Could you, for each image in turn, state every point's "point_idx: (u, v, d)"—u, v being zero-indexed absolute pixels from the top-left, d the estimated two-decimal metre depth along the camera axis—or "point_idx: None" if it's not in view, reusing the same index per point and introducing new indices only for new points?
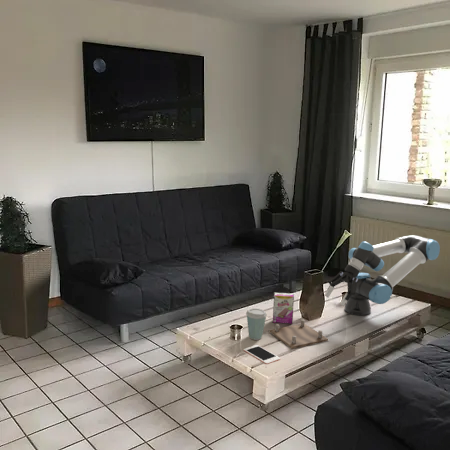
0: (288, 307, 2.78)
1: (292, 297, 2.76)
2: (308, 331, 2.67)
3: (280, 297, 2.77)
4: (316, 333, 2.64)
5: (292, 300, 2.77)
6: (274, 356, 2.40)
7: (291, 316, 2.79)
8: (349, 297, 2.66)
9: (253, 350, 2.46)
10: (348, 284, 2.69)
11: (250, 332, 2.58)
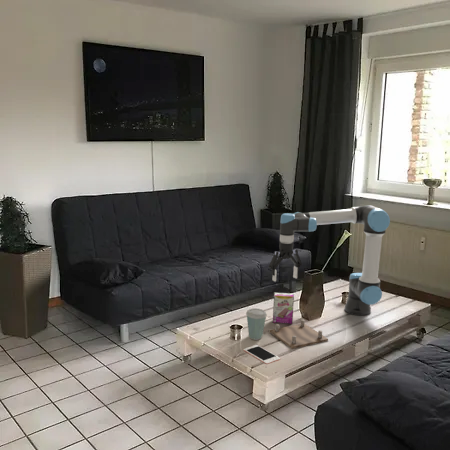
0: (288, 307, 2.78)
1: (292, 297, 2.76)
2: (308, 331, 2.67)
3: (280, 297, 2.77)
4: (316, 333, 2.64)
5: (292, 300, 2.77)
6: (274, 356, 2.40)
7: (291, 316, 2.79)
8: (272, 271, 2.72)
9: (253, 350, 2.46)
10: None
11: (250, 332, 2.58)
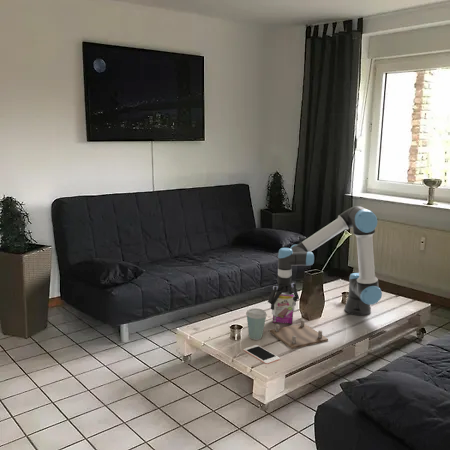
0: (288, 307, 2.78)
1: (292, 297, 2.76)
2: (308, 331, 2.67)
3: (280, 297, 2.77)
4: (316, 333, 2.64)
5: (292, 300, 2.77)
6: (274, 356, 2.40)
7: (291, 316, 2.79)
8: (272, 306, 2.76)
9: (253, 350, 2.46)
10: None
11: (250, 332, 2.58)
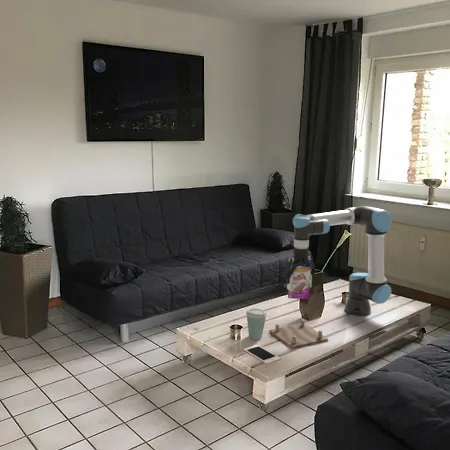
0: (304, 281, 2.55)
1: (309, 270, 2.54)
2: (308, 331, 2.67)
3: (296, 270, 2.55)
4: (316, 333, 2.64)
5: (309, 273, 2.54)
6: (274, 356, 2.40)
7: (308, 291, 2.56)
8: (287, 280, 2.54)
9: (253, 350, 2.46)
10: None
11: (250, 332, 2.58)
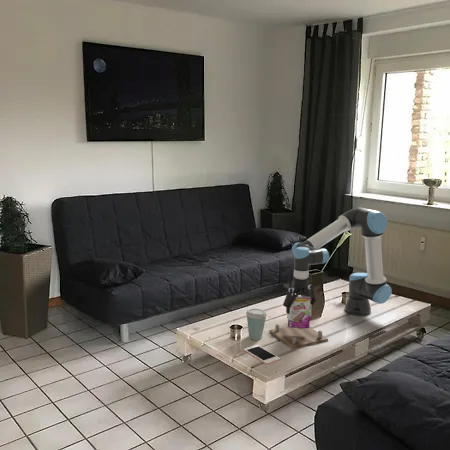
0: (304, 311, 2.58)
1: (309, 300, 2.56)
2: (308, 331, 2.67)
3: (296, 300, 2.57)
4: (316, 333, 2.64)
5: (309, 303, 2.57)
6: (274, 356, 2.40)
7: (308, 320, 2.59)
8: (287, 309, 2.56)
9: (253, 350, 2.46)
10: None
11: (250, 332, 2.58)
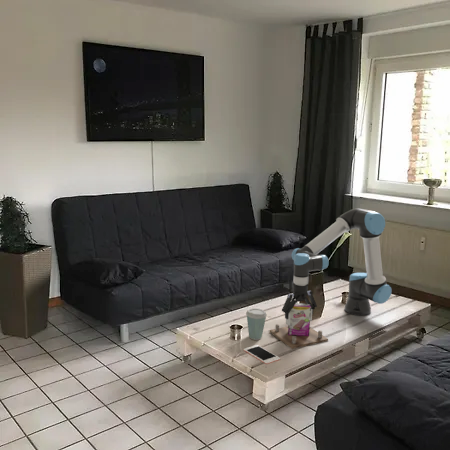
0: (304, 319, 2.59)
1: (309, 308, 2.57)
2: None
3: (296, 308, 2.58)
4: (316, 333, 2.64)
5: (309, 311, 2.58)
6: (274, 356, 2.40)
7: (308, 328, 2.60)
8: (286, 315, 2.57)
9: (253, 350, 2.46)
10: None
11: (250, 332, 2.58)
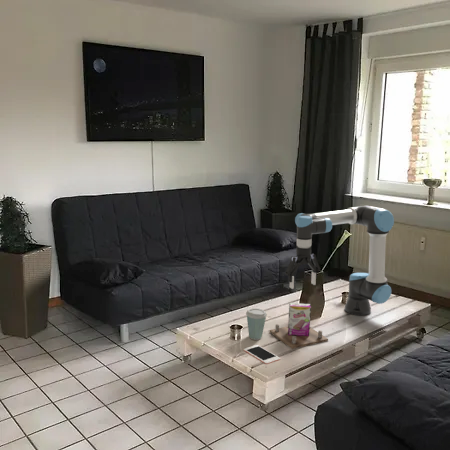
0: (304, 319, 2.59)
1: (309, 308, 2.57)
2: None
3: (296, 308, 2.58)
4: (316, 333, 2.64)
5: (309, 311, 2.58)
6: (274, 356, 2.40)
7: (308, 328, 2.60)
8: (289, 278, 2.54)
9: (253, 350, 2.46)
10: None
11: (250, 332, 2.58)
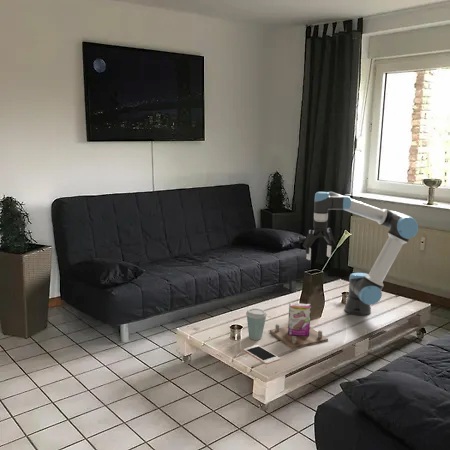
0: (304, 319, 2.59)
1: (309, 308, 2.57)
2: None
3: (296, 308, 2.58)
4: (316, 333, 2.64)
5: (309, 311, 2.58)
6: (274, 356, 2.40)
7: (308, 328, 2.60)
8: (307, 250, 2.72)
9: (253, 350, 2.46)
10: None
11: (250, 332, 2.58)
